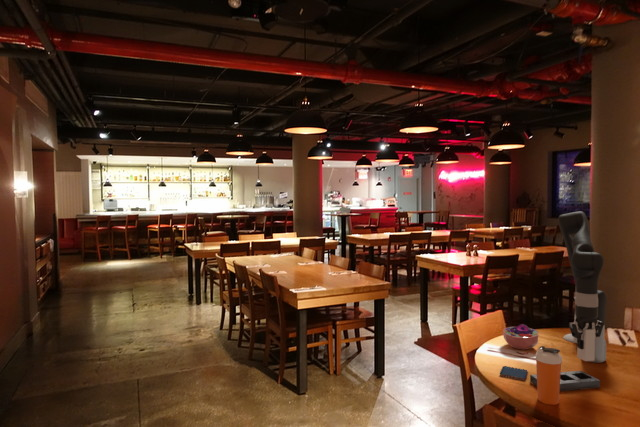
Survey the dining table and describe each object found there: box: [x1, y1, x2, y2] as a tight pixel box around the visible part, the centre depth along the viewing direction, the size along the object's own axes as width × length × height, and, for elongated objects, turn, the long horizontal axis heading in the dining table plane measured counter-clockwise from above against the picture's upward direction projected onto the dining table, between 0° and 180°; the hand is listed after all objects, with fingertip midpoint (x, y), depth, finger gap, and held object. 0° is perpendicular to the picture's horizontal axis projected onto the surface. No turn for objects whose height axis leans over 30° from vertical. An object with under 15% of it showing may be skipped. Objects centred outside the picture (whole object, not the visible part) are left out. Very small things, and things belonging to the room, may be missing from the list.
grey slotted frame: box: [529, 370, 601, 392], centre depth 177 cm, size 24×10×3 cm, turn 100°
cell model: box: [502, 323, 539, 350], centre depth 221 cm, size 17×20×11 cm
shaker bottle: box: [535, 345, 563, 406], centre depth 163 cm, size 9×9×20 cm
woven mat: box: [499, 365, 529, 382], centre depth 188 cm, size 10×11×2 cm
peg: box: [576, 329, 595, 362], centre depth 166 cm, size 4×4×12 cm
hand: (585, 348), depth 166 cm, fingers closed on peg, 4 cm apart
